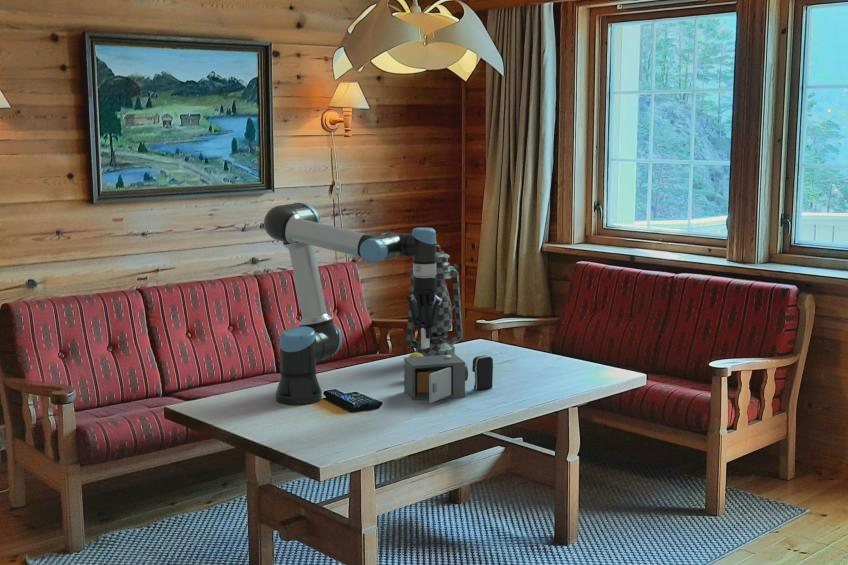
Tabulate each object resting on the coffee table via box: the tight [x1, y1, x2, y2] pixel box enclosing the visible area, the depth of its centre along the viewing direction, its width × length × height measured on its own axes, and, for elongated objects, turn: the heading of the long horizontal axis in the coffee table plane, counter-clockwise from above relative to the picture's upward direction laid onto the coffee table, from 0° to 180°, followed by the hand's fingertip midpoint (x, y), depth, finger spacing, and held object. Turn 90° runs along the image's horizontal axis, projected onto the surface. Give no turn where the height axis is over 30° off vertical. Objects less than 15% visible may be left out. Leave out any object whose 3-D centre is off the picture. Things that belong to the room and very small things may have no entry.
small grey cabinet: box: [403, 353, 469, 402], centre depth 343 cm, size 20×12×13 cm, turn 105°
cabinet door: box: [428, 367, 451, 404], centre depth 333 cm, size 12×1×9 cm, turn 145°
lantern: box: [406, 244, 464, 356], centre depth 387 cm, size 24×18×45 cm
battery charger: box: [471, 354, 494, 391], centre depth 351 cm, size 7×4×11 cm, turn 125°
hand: (425, 347), depth 331 cm, fingers closed
